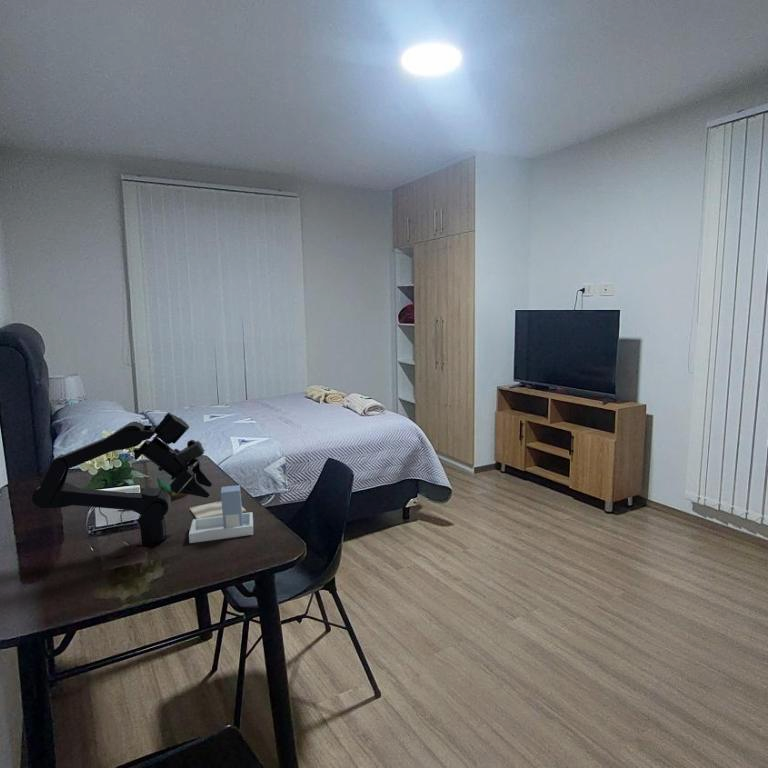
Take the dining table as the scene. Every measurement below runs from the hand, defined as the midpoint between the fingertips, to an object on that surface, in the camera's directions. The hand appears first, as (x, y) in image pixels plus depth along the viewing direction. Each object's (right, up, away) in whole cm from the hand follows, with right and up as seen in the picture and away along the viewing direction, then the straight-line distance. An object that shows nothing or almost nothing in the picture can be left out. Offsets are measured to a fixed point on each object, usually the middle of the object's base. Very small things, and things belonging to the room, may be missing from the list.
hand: (209, 490), depth 145 cm
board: (-4, -10, +18) cm, 21 cm away
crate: (+3, -12, +2) cm, 13 cm away
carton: (+6, -12, +3) cm, 13 cm away
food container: (-22, -9, +34) cm, 41 cm away
